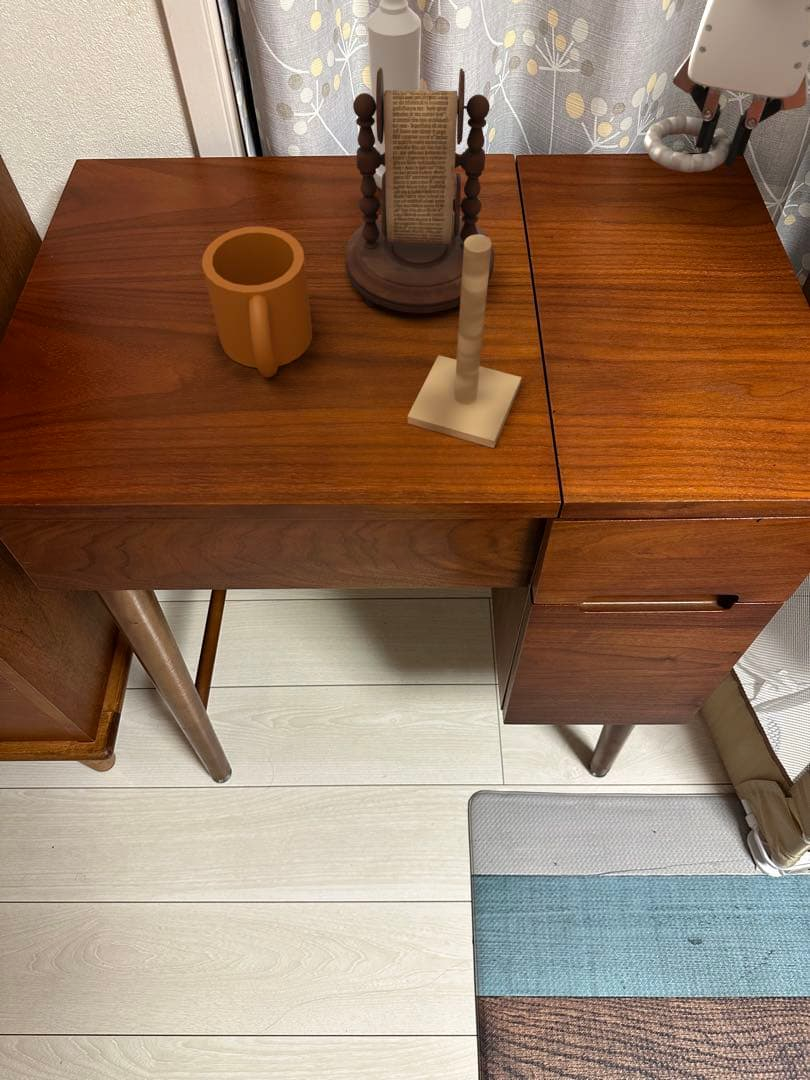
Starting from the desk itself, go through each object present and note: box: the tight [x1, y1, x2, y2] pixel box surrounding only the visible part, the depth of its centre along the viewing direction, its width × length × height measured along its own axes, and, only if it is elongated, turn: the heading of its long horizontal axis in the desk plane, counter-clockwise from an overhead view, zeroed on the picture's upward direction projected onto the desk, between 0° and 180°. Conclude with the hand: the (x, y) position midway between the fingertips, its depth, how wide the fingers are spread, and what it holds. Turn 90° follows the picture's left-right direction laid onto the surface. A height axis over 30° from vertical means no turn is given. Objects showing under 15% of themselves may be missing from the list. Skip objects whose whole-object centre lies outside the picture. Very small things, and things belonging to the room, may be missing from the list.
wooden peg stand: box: [407, 235, 522, 449], centre depth 66 cm, size 8×8×17 cm
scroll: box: [344, 67, 495, 314], centre depth 74 cm, size 15×15×20 cm
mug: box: [201, 225, 313, 378], centre depth 73 cm, size 9×12×9 cm
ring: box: [643, 116, 732, 174], centre depth 82 cm, size 8×8×2 cm
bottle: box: [366, 0, 422, 191], centre depth 80 cm, size 5×5×25 cm
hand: (717, 155), depth 81 cm, fingers closed on ring, 2 cm apart
